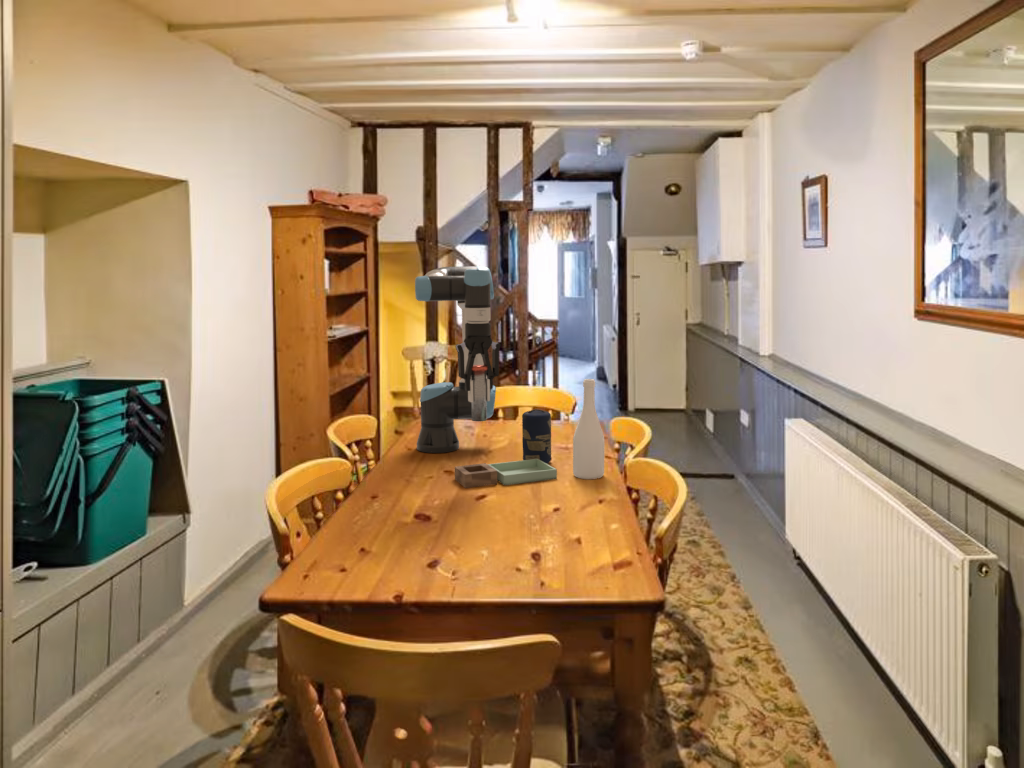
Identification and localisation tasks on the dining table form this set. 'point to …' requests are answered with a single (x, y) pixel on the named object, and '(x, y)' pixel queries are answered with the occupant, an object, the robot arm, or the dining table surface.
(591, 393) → the wine bottle
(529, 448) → the canister
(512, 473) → the tray
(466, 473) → the socket block
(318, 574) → the dining table surface
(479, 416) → the pin
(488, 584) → the dining table surface
